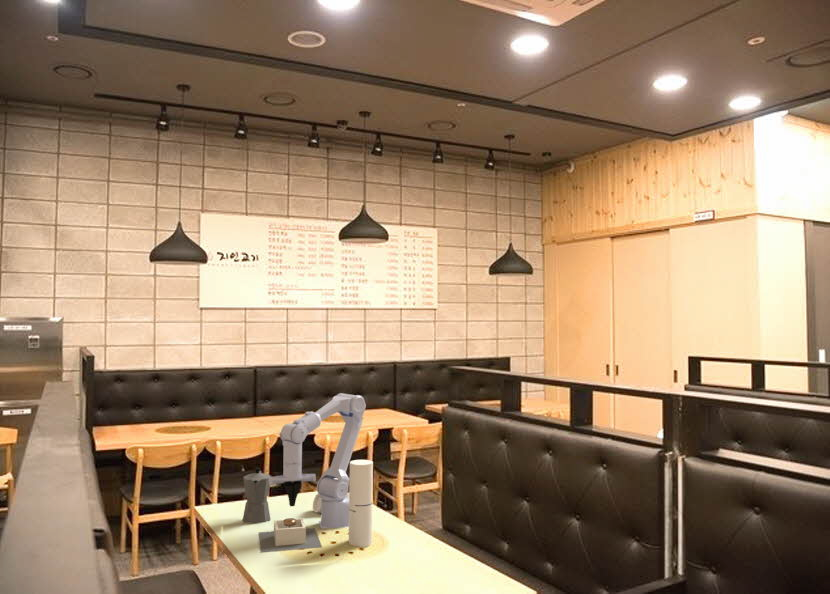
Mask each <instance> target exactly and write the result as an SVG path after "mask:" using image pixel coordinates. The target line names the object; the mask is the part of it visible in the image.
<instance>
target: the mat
mask: <svg viewBox="0 0 830 594" xmlns="http://www.w3.org/2000/svg"><path fill="white" fill-rule="evenodd" d="M258 539H259V540H258V541H259V546H260V547H259V549H260V554H261V553H270V552H272V553H273V552H283V551H295V550H298V551H299V550H307V549H318V548H323V545H322V543H321V540H320V538H319V536H318V533H317V530H316V528H315V527H312V528H306V543H304V544H292V545H280V546H275V540H274V530H273V531H259V532H258Z"/></svg>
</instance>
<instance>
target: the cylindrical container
mask: <svg viewBox="0 0 830 594" xmlns="http://www.w3.org/2000/svg"><path fill="white" fill-rule="evenodd" d="M373 470H374V461H372V460H370V459H369V460H368V459H355V460H350V461H349V527H348V544H350V545H351V546H355V547H359V548H360V547H364V548H367V547H366V546H368V547H370V546H372V543H373V492H374V491H373V488H374V487H373V485H374V484H373V481H374V478H373V477H374V471H373ZM369 545H370V546H369Z"/></svg>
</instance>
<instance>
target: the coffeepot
mask: <svg viewBox="0 0 830 594" xmlns="http://www.w3.org/2000/svg"><path fill="white" fill-rule="evenodd" d="M254 470H255V473H249V474H247V475H246V474H245V476H243V479H242V480H243V486H244V492H245V497H246V502H245V505H244V511H243V516H242V522H243V524H262V523H266V522H269V521H271V514H270V508H269V502H268V496H269V493H270V488H271V485H269V477H272V475H270V474H268V473H263V472H262V470H261V468H260V467H256V468H255V469H254Z"/></svg>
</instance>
